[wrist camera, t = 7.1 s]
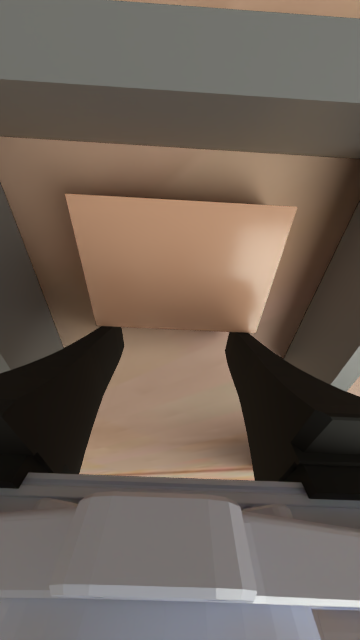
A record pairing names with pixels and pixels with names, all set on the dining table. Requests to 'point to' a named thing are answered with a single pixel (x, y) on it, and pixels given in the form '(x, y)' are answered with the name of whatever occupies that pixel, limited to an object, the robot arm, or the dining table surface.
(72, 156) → the dining table surface
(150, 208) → the tan flat block
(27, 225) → the dining table surface
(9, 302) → the box
